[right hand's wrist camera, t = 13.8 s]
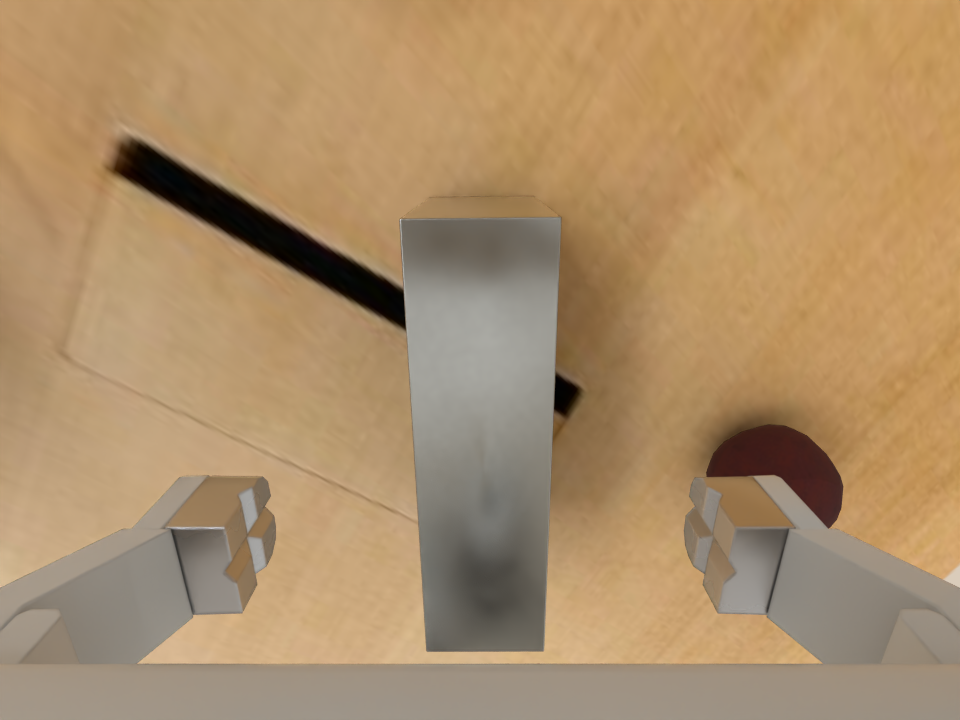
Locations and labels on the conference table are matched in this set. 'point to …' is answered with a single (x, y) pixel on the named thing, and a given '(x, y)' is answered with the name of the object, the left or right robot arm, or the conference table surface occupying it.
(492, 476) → the box
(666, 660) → the conference table surface
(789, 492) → the right robot arm
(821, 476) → the potato
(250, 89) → the conference table surface
